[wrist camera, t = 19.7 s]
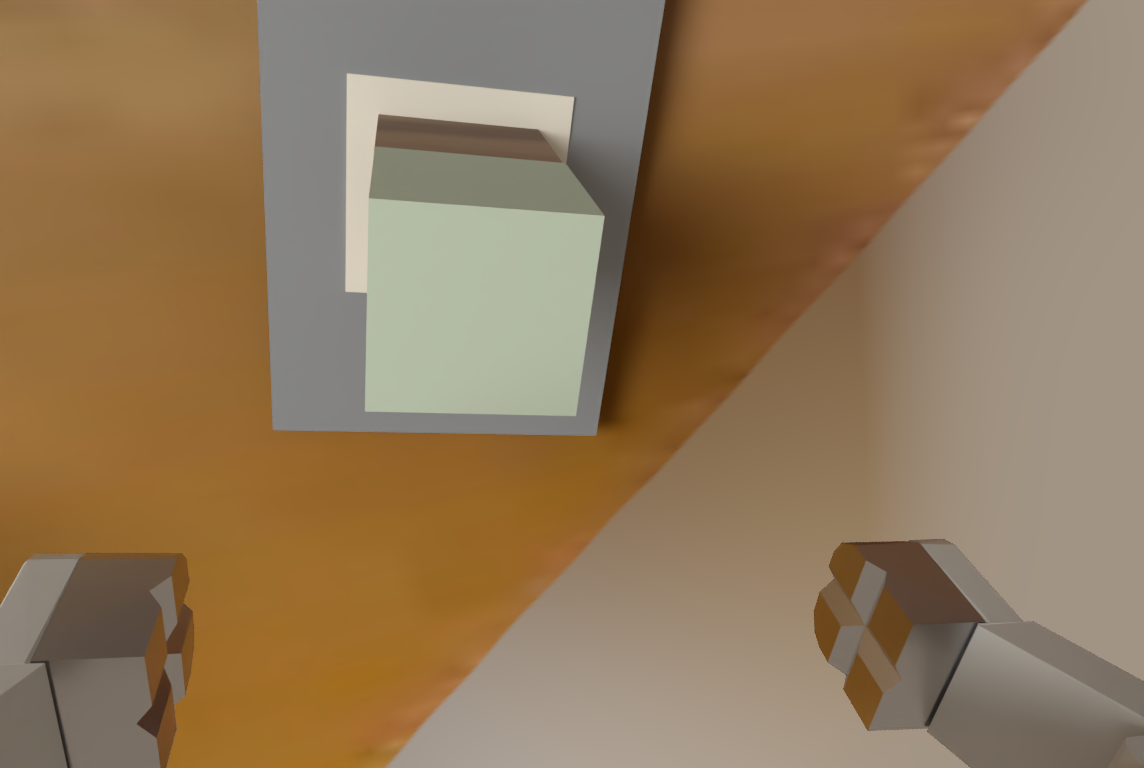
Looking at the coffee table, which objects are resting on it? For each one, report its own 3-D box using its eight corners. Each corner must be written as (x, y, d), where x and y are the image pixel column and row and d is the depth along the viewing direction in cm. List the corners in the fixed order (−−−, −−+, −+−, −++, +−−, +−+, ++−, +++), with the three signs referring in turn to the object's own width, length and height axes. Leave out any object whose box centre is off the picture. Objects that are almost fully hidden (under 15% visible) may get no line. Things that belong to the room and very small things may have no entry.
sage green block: (374, 146, 22) (369, 198, 17) (565, 162, 23) (604, 215, 18) (371, 325, 24) (365, 411, 20) (545, 333, 25) (576, 415, 21)
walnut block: (378, 114, 26) (374, 149, 22) (538, 129, 27) (564, 165, 23) (374, 267, 28) (370, 327, 24) (522, 276, 29) (544, 335, 25)
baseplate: (258, -151, 24) (250, -155, 22) (667, -87, 26) (680, -88, 25) (277, 413, 32) (272, 431, 30) (590, 420, 34) (596, 436, 33)
